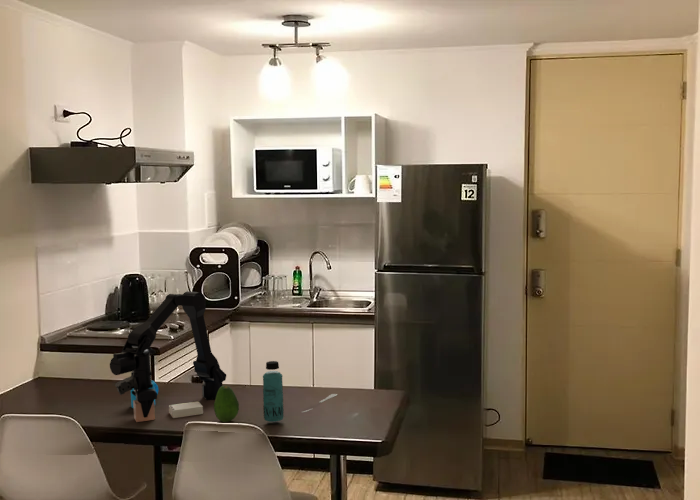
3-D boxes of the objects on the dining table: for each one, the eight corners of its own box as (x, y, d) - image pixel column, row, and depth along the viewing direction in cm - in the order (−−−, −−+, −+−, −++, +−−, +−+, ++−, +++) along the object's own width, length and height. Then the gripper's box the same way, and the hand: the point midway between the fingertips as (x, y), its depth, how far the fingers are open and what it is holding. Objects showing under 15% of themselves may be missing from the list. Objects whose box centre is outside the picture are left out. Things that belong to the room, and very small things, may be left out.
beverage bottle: (263, 420, 258) (261, 359, 256) (284, 419, 259) (282, 358, 257) (263, 427, 252) (261, 364, 250) (284, 425, 252) (282, 363, 250)
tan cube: (152, 415, 267) (151, 397, 267) (155, 419, 263) (154, 401, 262) (134, 418, 265) (133, 400, 264) (136, 422, 260) (135, 404, 260)
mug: (144, 410, 274) (143, 386, 274) (126, 407, 278) (125, 384, 277) (167, 400, 285) (166, 378, 284) (149, 398, 289) (148, 376, 288)
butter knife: (339, 394, 287) (332, 393, 288) (305, 412, 266) (298, 411, 267) (339, 395, 287) (332, 394, 288) (305, 413, 266) (298, 412, 267)
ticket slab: (198, 408, 274) (198, 401, 274) (203, 413, 268) (202, 406, 268) (169, 412, 270) (168, 405, 270) (173, 418, 264) (172, 410, 264)
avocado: (212, 425, 255) (210, 388, 253) (217, 418, 262) (215, 382, 261) (237, 425, 254) (235, 388, 253) (241, 417, 262) (240, 381, 261)
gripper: (112, 365, 267) (115, 411, 269) (120, 378, 250) (122, 426, 252) (146, 361, 272) (149, 406, 273) (156, 373, 255) (158, 421, 256)
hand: (144, 415), depth 264 cm, fingers closed on tan cube, 5 cm apart
